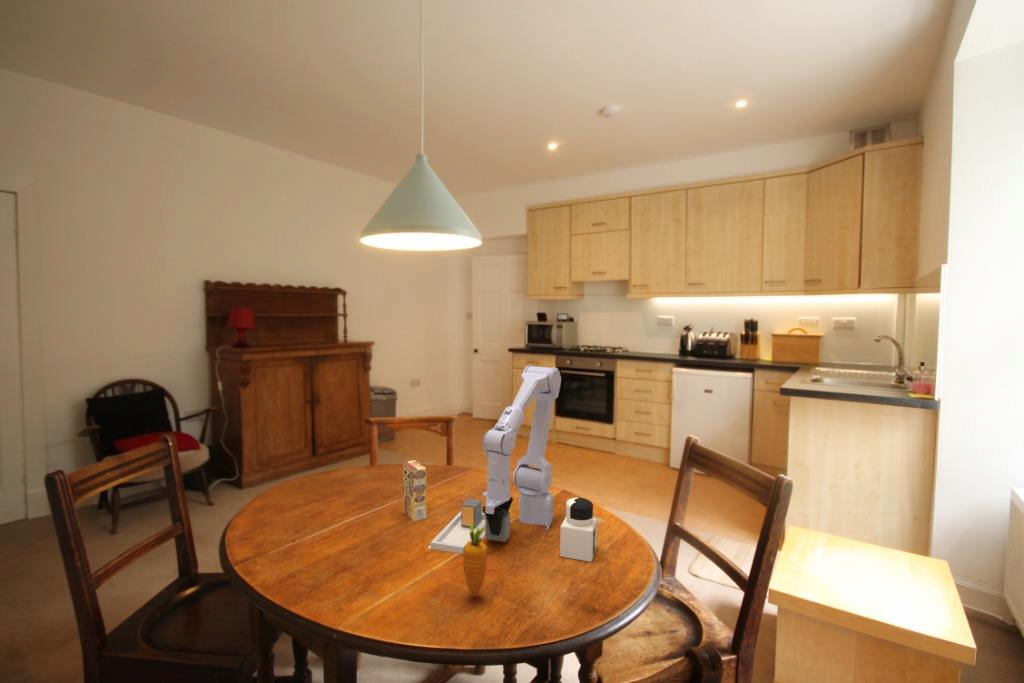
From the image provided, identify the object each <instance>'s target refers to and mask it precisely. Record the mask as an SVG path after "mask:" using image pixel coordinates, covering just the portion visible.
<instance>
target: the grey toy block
mask: <svg viewBox="0 0 1024 683" xmlns="http://www.w3.org/2000/svg"><path fill="white" fill-rule="evenodd" d="M482 502H483V501H482V499H478V498H470V497H467V499H466V500H465V501H464V502H462V504H461V508H460V509H461V510H460V511H461V527H466V528H470V525H472V524H473V527H474V529H475V528H476V527H477V526H478V525H479V524H480V522H481V519H482V513H483V507H482V506H483V505H482V504H483V503H482Z"/></svg>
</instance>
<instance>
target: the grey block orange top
mask: <svg viewBox="0 0 1024 683" xmlns="http://www.w3.org/2000/svg"><path fill="white" fill-rule="evenodd" d="M510 523H511V512H510V510H509V511H505V513H504V516H503V519H502V524H501V531H500V534H499V536H497V535H491V532H490V528H489V524H488V520H487V518H486V516H485V535H484V536H485V539H486V540H489V541H495V542H496V541H497V542H503V543H506V542H507V539H509V537H510V532H511V529H510V528H511V527H510V526H511V524H510Z"/></svg>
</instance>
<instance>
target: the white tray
mask: <svg viewBox="0 0 1024 683" xmlns="http://www.w3.org/2000/svg"><path fill="white" fill-rule="evenodd" d="M482 527H483V528H484V530H483V531H482V532H481V533H480V535H479V538H480V537H481V538H482V539H483V537H485V536H486V535H485V514H484V512H482V519H481V522H480V524H479V525H478V526H477V527H476V528H475V529H474V535H475V533H476V530H477V528H482ZM479 538H478V539H479ZM469 541H472V540H471V537H470V528H466V527H461V510H460V511H459V512H458V513H457V514H456V515H455V516H454V518H452V519H451V520H450V522H448V524H447V525H446V526H444V528H443V529H442V530H441V531H440V532H439V533H438V534H437V535H436V536H435V537H434V538H433V539H432V540H431V542H430V545H429V546H428V547H427V549H430V550H437V551H443V552H449V553H454V554H455V553H456V554H460V555H461V554H462V555H463V548H464V546H465V545H466V544H467V543H468V542H469Z"/></svg>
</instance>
